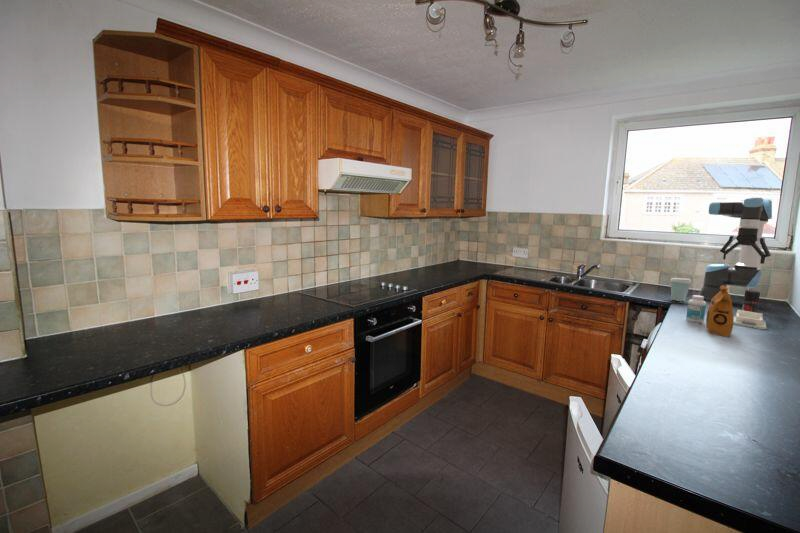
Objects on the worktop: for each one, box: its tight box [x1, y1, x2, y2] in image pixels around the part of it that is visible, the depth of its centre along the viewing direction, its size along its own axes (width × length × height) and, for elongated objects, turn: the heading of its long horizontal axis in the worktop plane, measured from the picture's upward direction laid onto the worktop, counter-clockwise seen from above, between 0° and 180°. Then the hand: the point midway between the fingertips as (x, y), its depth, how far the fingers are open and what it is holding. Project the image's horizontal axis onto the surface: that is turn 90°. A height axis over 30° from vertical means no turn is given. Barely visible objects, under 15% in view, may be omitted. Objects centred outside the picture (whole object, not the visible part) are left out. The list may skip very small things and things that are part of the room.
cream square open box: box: [733, 309, 767, 331], centre depth 197 cm, size 14×13×5 cm
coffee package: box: [705, 286, 735, 338], centre depth 181 cm, size 10×12×22 cm
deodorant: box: [741, 289, 761, 313], centre depth 207 cm, size 6×6×15 cm
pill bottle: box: [685, 294, 707, 324], centre depth 199 cm, size 8×7×14 cm
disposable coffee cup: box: [670, 277, 692, 302], centre depth 241 cm, size 11×11×15 cm
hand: (741, 267), depth 203 cm, fingers open, 13 cm apart
